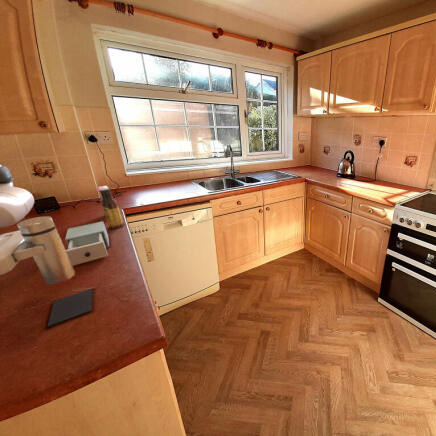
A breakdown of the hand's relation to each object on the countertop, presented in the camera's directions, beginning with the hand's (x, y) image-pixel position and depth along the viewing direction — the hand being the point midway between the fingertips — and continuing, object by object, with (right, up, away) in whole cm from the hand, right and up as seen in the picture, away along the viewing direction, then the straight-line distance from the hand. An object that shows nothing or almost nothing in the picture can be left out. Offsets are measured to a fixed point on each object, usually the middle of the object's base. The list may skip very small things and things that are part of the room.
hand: (49, 242), depth 63 cm
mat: (0, -19, +7) cm, 20 cm away
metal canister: (0, -10, +4) cm, 11 cm away
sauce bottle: (-26, +2, +61) cm, 66 cm away
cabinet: (-23, -6, +42) cm, 48 cm away
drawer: (-16, -8, +33) cm, 37 cm away
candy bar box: (-39, +8, +76) cm, 86 cm away
